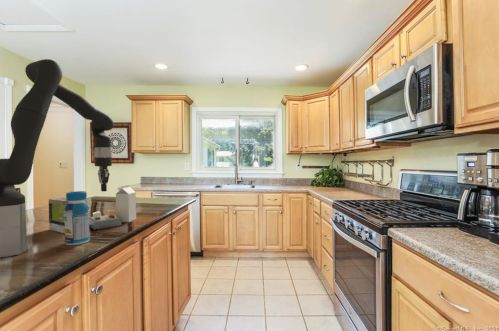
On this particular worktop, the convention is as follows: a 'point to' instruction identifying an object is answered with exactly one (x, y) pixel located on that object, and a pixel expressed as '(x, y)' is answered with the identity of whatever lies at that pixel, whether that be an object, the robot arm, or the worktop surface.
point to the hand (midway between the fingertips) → (103, 191)
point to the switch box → (104, 221)
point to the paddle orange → (111, 212)
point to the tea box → (57, 214)
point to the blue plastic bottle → (76, 218)
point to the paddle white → (97, 214)
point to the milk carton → (126, 204)
